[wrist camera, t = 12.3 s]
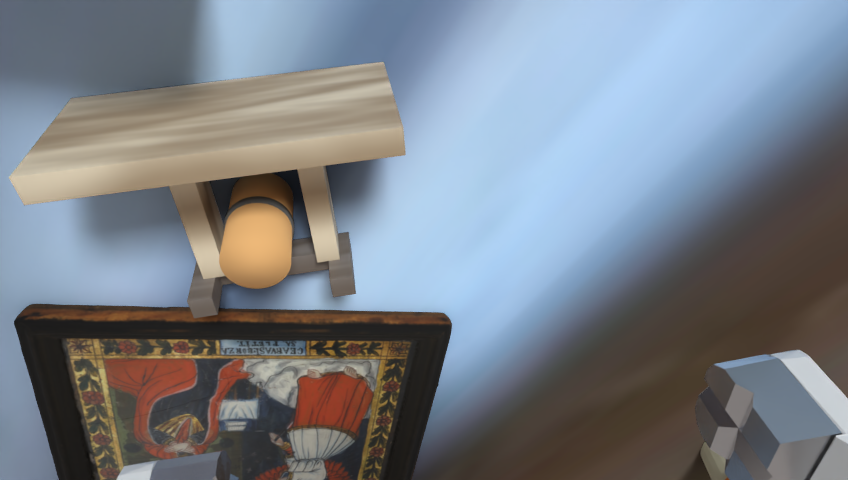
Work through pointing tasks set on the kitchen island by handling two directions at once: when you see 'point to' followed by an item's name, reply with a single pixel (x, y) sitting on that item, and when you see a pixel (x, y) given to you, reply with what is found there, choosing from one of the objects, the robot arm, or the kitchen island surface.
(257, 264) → the banded tan cylinder
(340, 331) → the framed icon painting
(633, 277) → the kitchen island surface
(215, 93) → the wooden trestle bench
